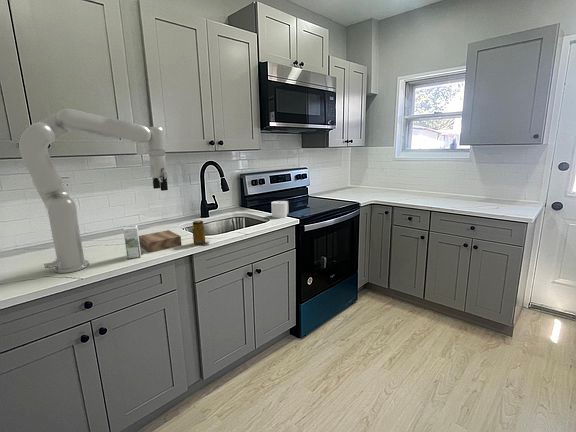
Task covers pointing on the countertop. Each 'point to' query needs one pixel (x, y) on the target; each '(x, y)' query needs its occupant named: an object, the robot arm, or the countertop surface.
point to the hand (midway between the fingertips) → (160, 189)
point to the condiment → (199, 234)
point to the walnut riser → (159, 241)
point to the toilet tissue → (279, 209)
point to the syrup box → (132, 241)
